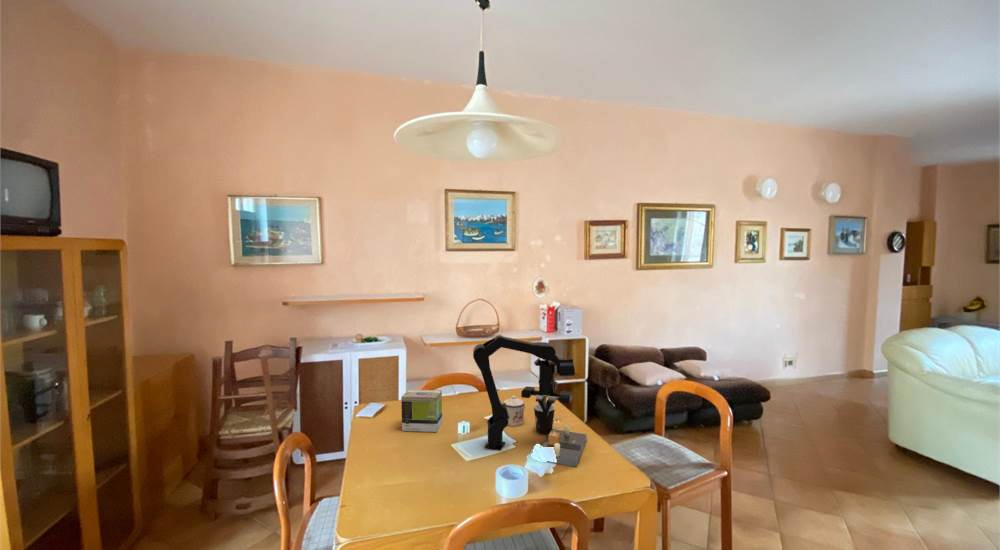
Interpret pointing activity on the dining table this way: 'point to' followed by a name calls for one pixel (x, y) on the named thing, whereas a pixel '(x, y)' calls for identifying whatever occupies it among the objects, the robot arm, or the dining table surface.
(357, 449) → the dining table surface
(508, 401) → the teacup with lid
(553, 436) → the block
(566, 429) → the peg
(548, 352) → the robot arm
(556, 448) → the cylinder
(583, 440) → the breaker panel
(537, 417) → the coffee mug
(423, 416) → the tea box
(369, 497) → the dining table surface
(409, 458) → the dining table surface
